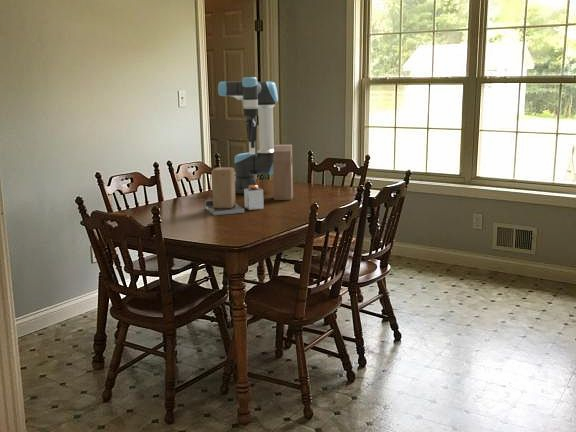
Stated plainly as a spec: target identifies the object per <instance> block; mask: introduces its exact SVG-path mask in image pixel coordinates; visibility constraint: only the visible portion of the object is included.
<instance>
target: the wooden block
mask: <svg viewBox="0 0 576 432" xmlns="http://www.w3.org/2000/svg"><path fill="white" fill-rule="evenodd" d="M211 189H212V191H211V192H212V200H213V207H214V208H232V207H233V206H234V205H235V204H237V203H236V193H235V167H215V168H213V169H212V170H211Z"/></svg>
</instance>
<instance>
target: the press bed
mask: <svg viewBox="0 0 576 432" xmlns="http://www.w3.org/2000/svg"><path fill="white" fill-rule="evenodd" d="M204 202H205V210H206V211H207V212H209V213H210V214H211V215H212V216H223V215H231V214H233V215H234V214H244V213H245V207H242V206H241V205H239V204H238V203H236V204H235V205H234V206H233V207H232V208H214V207H213V199H211V200H210V199H209V200H208V199H207V200H204Z"/></svg>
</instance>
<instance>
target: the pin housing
mask: <svg viewBox="0 0 576 432" xmlns="http://www.w3.org/2000/svg"><path fill="white" fill-rule="evenodd" d="M243 195H244V196H243V198H244V209H247V210H248V211H253V210H263V209H264V208H265V205H264V203H265V202H264V200H265V199H264V189H263V188H261V187H259V186H258V188H256V190H251V188H246V189H244V193H243Z"/></svg>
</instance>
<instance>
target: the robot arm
mask: <svg viewBox="0 0 576 432" xmlns="http://www.w3.org/2000/svg"><path fill="white" fill-rule="evenodd" d="M217 85H218V86H217V91H218V92H217V93H218V95H219V96H220V97H232V98H235V99H236V100H237V101H241V103H242V105H243V111H242V112H243V116H244V117H246V120H245V127H246V128H245V129H246V138H247V140H248V149H249V151H248V152H244V153H238V154H236V155H235V156H234V162H233V163H234V175H235V194H244V189H246V188H249V185H258V184H257V181H256V179H255V175H273V150H274V145H275V136H274V107H275V106H276V103H277V102H278V101H279V96H278V95H279V94H278V89H277V85H276V82H274V81H258V79H257V77H256V76H252V77H251V76H250V77H248V76H247V77H243V78H242V80H241V81H238V80H236V81H234V80H232V81H219V82H218V84H217ZM257 116H258V122H257V119H256V117H257ZM257 129H258V131H257ZM257 132H258V133H257ZM257 134H258V136H259V137H258V139H259V141H258V143H259V149H258V150H257V151H256V141H257Z"/></svg>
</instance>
